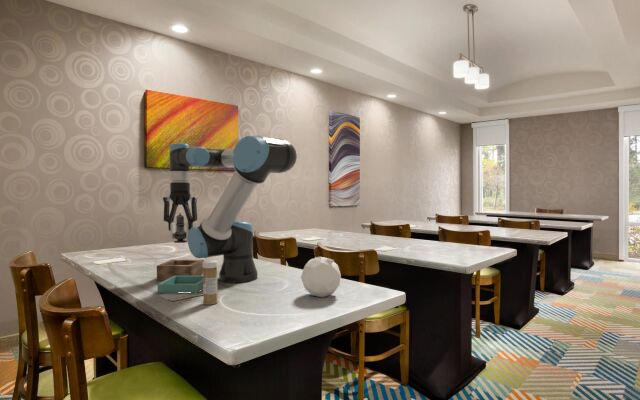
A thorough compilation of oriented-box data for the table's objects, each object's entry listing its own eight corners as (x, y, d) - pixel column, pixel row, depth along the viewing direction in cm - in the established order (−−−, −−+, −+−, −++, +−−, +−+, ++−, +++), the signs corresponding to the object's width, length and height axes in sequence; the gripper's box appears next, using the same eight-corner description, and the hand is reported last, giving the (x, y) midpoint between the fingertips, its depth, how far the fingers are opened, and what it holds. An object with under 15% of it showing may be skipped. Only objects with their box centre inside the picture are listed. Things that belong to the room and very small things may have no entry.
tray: (210, 284, 154) (210, 275, 154) (197, 293, 140) (196, 284, 140) (174, 283, 155) (174, 275, 155) (157, 293, 141) (157, 284, 141)
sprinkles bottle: (204, 301, 131) (203, 259, 130) (218, 301, 131) (218, 259, 131) (201, 305, 126) (201, 262, 126) (216, 305, 126) (216, 262, 126)
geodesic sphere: (356, 276, 140) (333, 244, 142) (343, 285, 127) (319, 249, 130) (325, 298, 144) (304, 266, 147) (310, 309, 131) (287, 274, 134)
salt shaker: (183, 243, 162) (182, 213, 162) (169, 242, 163) (169, 213, 163) (190, 241, 168) (190, 212, 167) (177, 241, 169) (177, 212, 169)
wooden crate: (204, 273, 173) (204, 259, 173) (191, 281, 159) (191, 266, 159) (172, 273, 174) (172, 259, 173) (156, 281, 160) (156, 265, 160)
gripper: (205, 182, 168) (206, 237, 169) (161, 182, 169) (162, 237, 170) (199, 181, 161) (200, 240, 161) (153, 181, 162) (154, 239, 163)
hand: (180, 238), depth 166 cm, fingers closed on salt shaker, 6 cm apart
